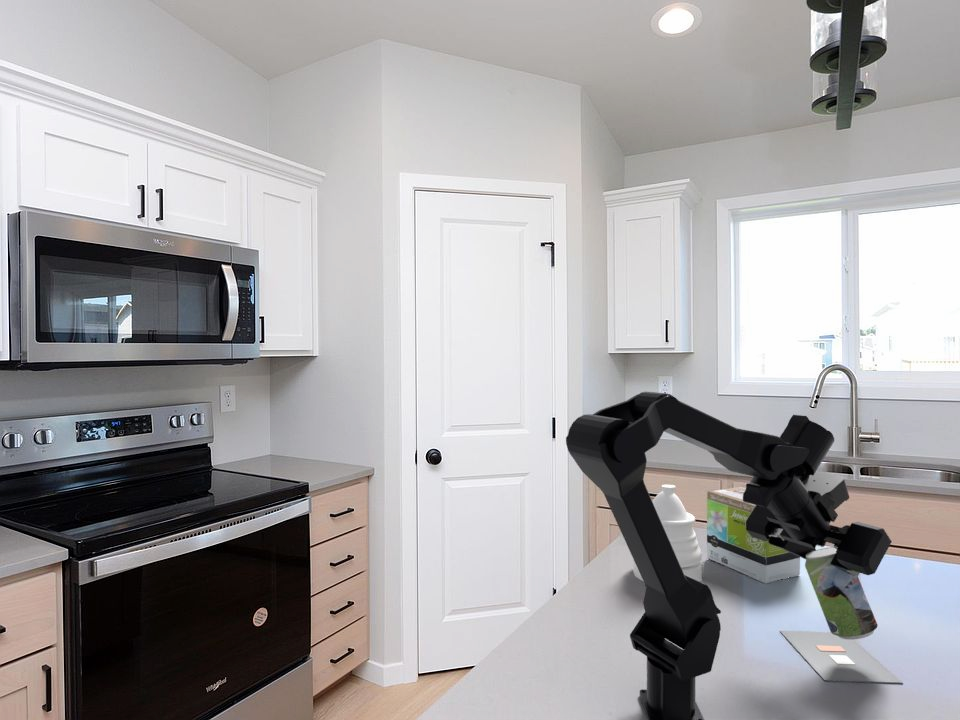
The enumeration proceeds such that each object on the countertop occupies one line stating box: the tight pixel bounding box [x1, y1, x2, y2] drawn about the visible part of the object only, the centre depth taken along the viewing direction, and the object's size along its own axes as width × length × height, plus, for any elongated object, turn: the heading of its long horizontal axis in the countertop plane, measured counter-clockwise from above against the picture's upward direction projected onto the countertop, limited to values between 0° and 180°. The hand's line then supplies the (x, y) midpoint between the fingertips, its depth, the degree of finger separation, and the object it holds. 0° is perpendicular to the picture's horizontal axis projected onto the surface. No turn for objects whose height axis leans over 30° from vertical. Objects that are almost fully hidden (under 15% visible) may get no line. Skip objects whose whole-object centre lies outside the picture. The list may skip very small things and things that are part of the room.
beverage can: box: [804, 546, 878, 640], centre depth 86 cm, size 6×7×12 cm
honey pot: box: [632, 484, 703, 583], centre depth 118 cm, size 13×13×18 cm
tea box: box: [706, 486, 801, 584], centre depth 121 cm, size 15×10×15 cm, turn 25°
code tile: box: [779, 630, 904, 685], centre depth 87 cm, size 14×10×1 cm
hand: (837, 567), depth 88 cm, fingers closed on beverage can, 6 cm apart
